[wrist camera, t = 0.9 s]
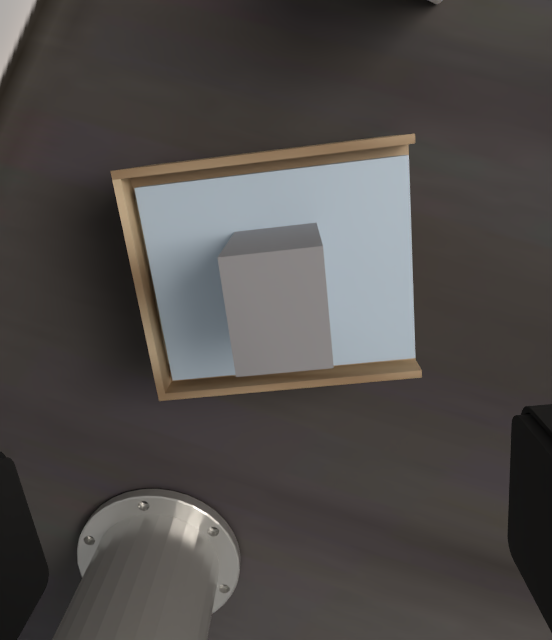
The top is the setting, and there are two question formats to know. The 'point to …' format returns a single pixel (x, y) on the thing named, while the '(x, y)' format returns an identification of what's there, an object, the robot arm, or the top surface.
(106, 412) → the top surface
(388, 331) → the cover plate
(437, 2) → the ink box
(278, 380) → the beech box
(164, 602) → the robot arm
